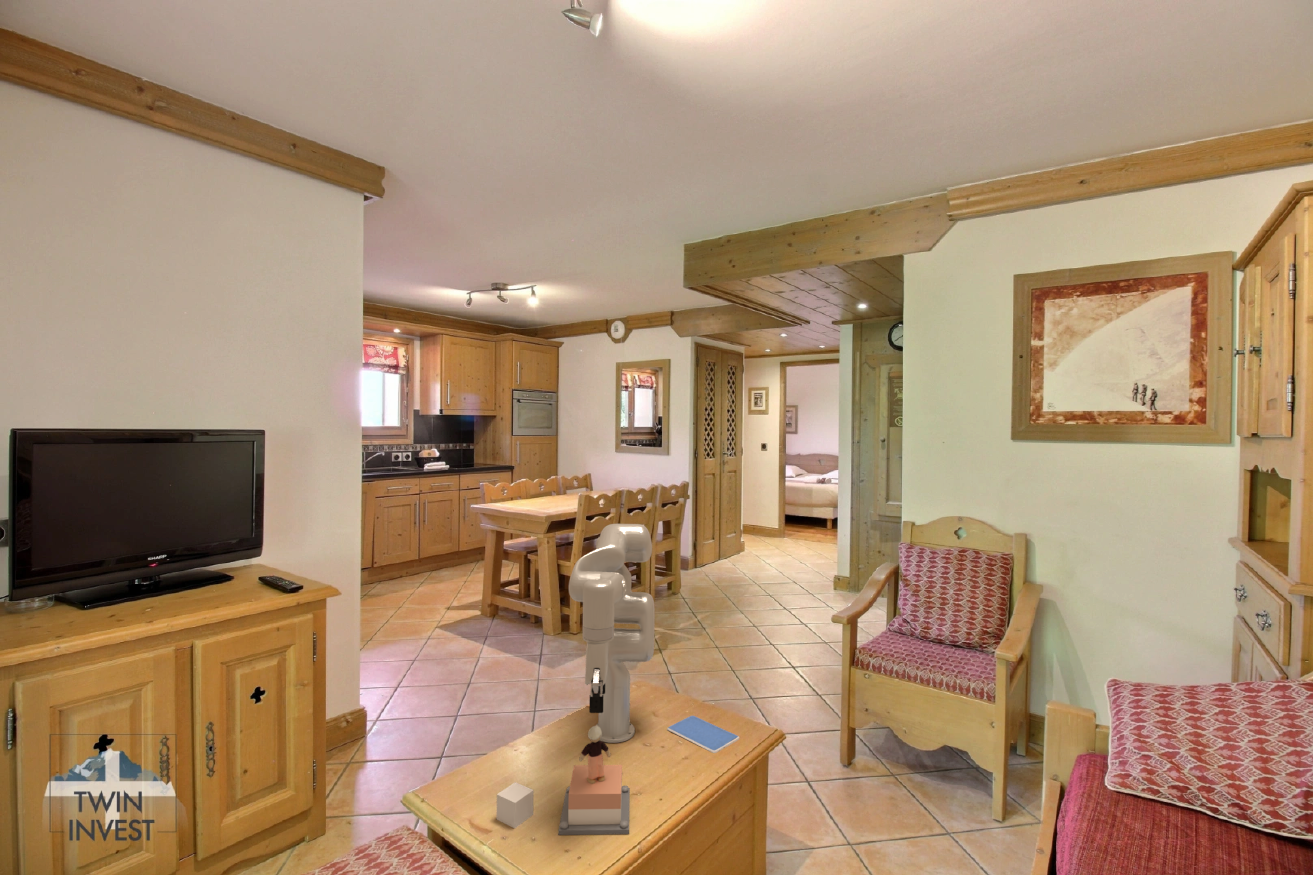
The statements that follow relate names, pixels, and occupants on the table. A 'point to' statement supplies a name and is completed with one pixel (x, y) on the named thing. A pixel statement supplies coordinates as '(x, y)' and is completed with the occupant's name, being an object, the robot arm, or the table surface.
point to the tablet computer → (703, 734)
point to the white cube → (514, 805)
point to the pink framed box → (596, 804)
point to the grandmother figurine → (595, 755)
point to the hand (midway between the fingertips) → (597, 702)
